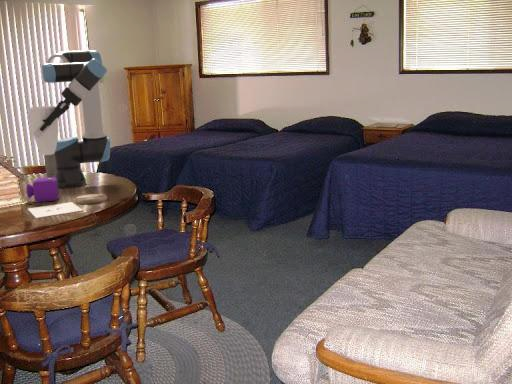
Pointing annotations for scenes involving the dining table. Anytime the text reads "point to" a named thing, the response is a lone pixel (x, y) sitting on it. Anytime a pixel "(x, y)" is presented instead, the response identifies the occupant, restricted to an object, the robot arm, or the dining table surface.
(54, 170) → the thermos bottle
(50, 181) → the toy camera
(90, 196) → the coaster
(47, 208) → the board
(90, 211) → the dining table surface
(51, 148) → the cup
